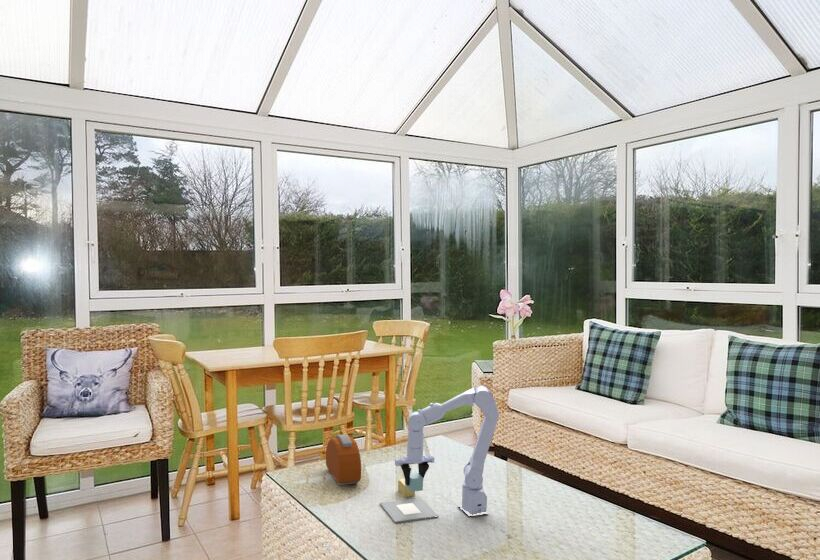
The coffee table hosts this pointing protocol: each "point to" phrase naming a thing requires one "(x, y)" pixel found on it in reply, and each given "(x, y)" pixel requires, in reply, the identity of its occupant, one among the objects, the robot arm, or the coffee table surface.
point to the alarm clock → (343, 459)
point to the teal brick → (415, 482)
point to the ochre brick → (404, 488)
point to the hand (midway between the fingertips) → (413, 483)
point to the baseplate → (408, 510)
